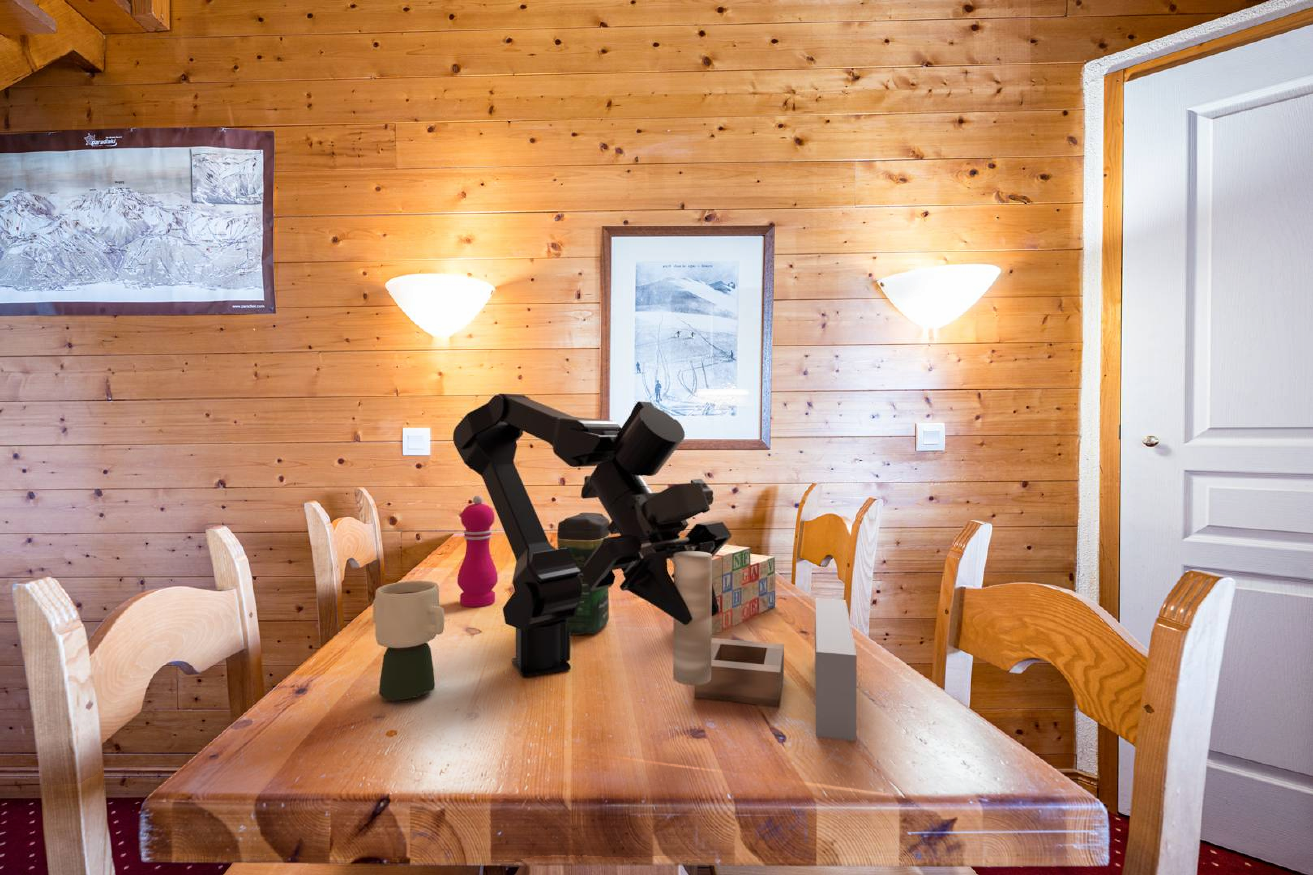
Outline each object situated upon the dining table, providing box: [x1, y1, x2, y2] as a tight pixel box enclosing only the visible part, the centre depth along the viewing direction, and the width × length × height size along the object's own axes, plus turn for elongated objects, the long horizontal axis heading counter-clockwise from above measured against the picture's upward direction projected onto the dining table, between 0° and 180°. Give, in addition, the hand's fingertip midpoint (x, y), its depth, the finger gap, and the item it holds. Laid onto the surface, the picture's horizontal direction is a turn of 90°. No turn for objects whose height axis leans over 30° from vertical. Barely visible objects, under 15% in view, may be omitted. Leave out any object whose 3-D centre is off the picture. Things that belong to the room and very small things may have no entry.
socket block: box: [693, 637, 785, 708], centre depth 78 cm, size 10×10×4 cm
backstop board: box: [814, 597, 858, 742], centre depth 75 cm, size 4×22×9 cm, turn 166°
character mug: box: [372, 580, 445, 701], centre depth 75 cm, size 11×7×13 cm, turn 66°
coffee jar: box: [556, 512, 611, 636], centre depth 102 cm, size 10×8×19 cm
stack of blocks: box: [711, 543, 776, 635], centre depth 108 cm, size 21×6×12 cm, turn 142°
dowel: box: [672, 551, 712, 686], centre depth 66 cm, size 4×4×13 cm
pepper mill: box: [456, 494, 499, 608], centre depth 116 cm, size 7×7×20 cm
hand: (702, 617), depth 65 cm, fingers closed on dowel, 4 cm apart
